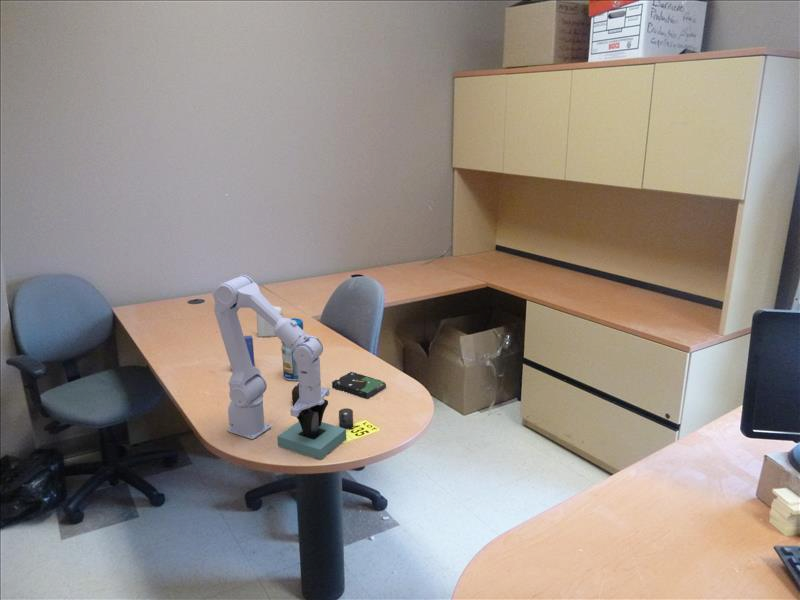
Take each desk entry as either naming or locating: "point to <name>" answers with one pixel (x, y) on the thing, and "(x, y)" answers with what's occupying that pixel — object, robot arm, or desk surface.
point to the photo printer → (266, 325)
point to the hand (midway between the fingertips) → (311, 429)
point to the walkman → (250, 347)
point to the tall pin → (314, 425)
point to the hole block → (313, 448)
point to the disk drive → (359, 385)
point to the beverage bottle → (290, 358)
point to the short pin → (346, 418)
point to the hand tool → (295, 394)
